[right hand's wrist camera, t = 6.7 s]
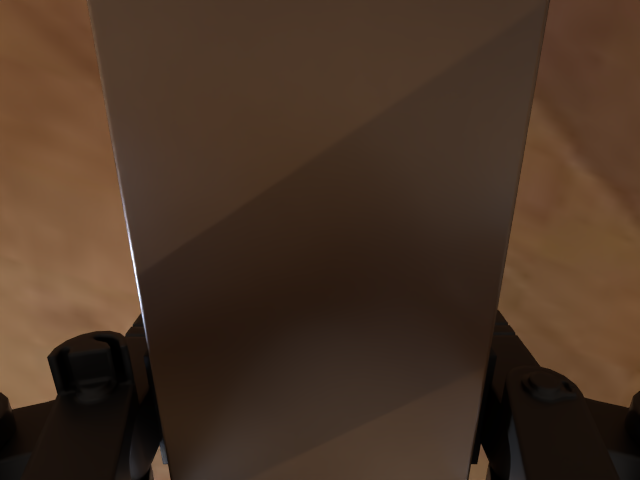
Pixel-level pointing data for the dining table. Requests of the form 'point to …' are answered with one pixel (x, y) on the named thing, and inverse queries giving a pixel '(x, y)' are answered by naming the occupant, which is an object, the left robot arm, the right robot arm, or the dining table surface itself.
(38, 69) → the dining table surface
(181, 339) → the beam
